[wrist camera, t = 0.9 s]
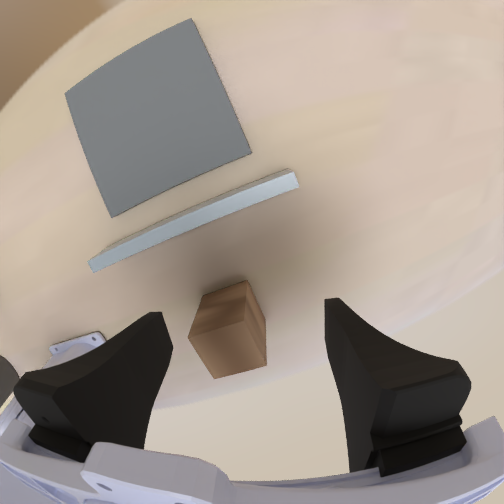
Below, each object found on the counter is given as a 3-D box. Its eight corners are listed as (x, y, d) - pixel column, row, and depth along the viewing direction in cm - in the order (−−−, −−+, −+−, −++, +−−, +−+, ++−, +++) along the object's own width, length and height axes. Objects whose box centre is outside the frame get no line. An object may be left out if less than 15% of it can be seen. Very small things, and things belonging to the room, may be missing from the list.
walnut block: (222, 332, 25) (214, 379, 19) (202, 295, 24) (187, 337, 18) (265, 319, 24) (266, 365, 19) (247, 280, 23) (243, 320, 18)
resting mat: (114, 216, 22) (111, 218, 21) (68, 94, 18) (64, 93, 18) (251, 152, 20) (251, 152, 19) (192, 20, 16) (191, 17, 16)
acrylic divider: (112, 257, 23) (93, 273, 20) (107, 246, 23) (87, 261, 19) (293, 181, 21) (299, 186, 17) (288, 168, 20) (293, 171, 17)
